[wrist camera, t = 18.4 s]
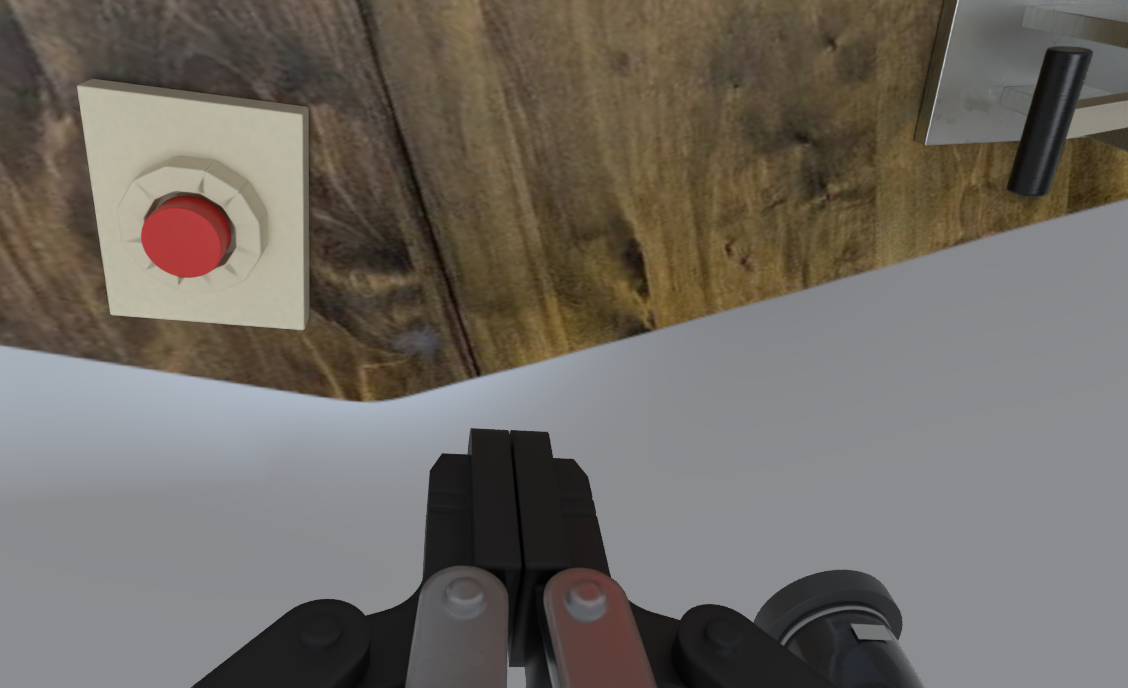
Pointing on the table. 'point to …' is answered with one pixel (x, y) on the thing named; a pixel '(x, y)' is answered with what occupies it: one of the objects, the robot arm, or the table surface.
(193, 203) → the button
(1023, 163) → the lever
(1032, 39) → the bracket
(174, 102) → the control block
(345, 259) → the table surface
